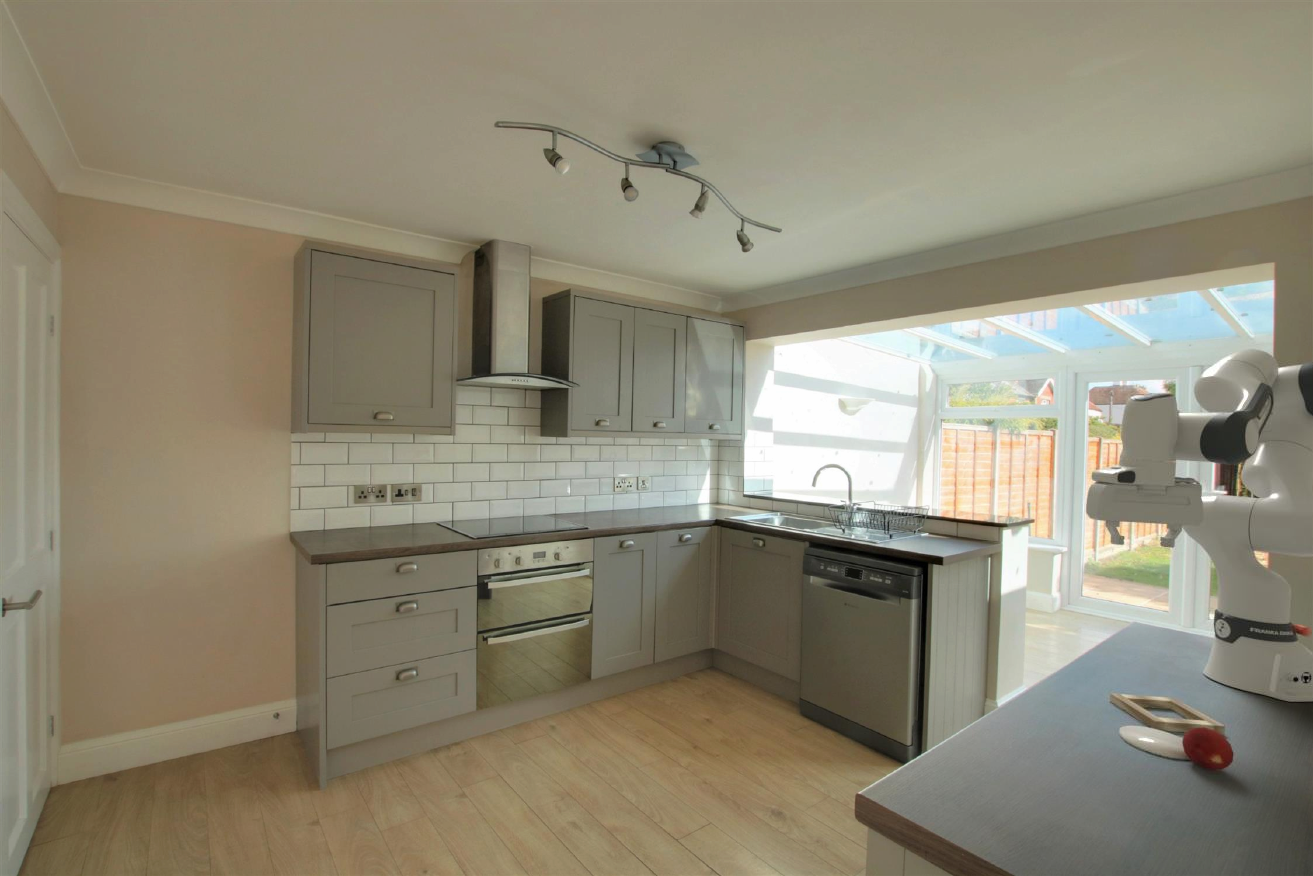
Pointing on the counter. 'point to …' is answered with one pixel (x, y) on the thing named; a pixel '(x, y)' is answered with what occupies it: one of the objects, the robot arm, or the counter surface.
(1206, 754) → the onion
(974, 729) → the counter surface
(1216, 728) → the frame
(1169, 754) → the white domed disc
